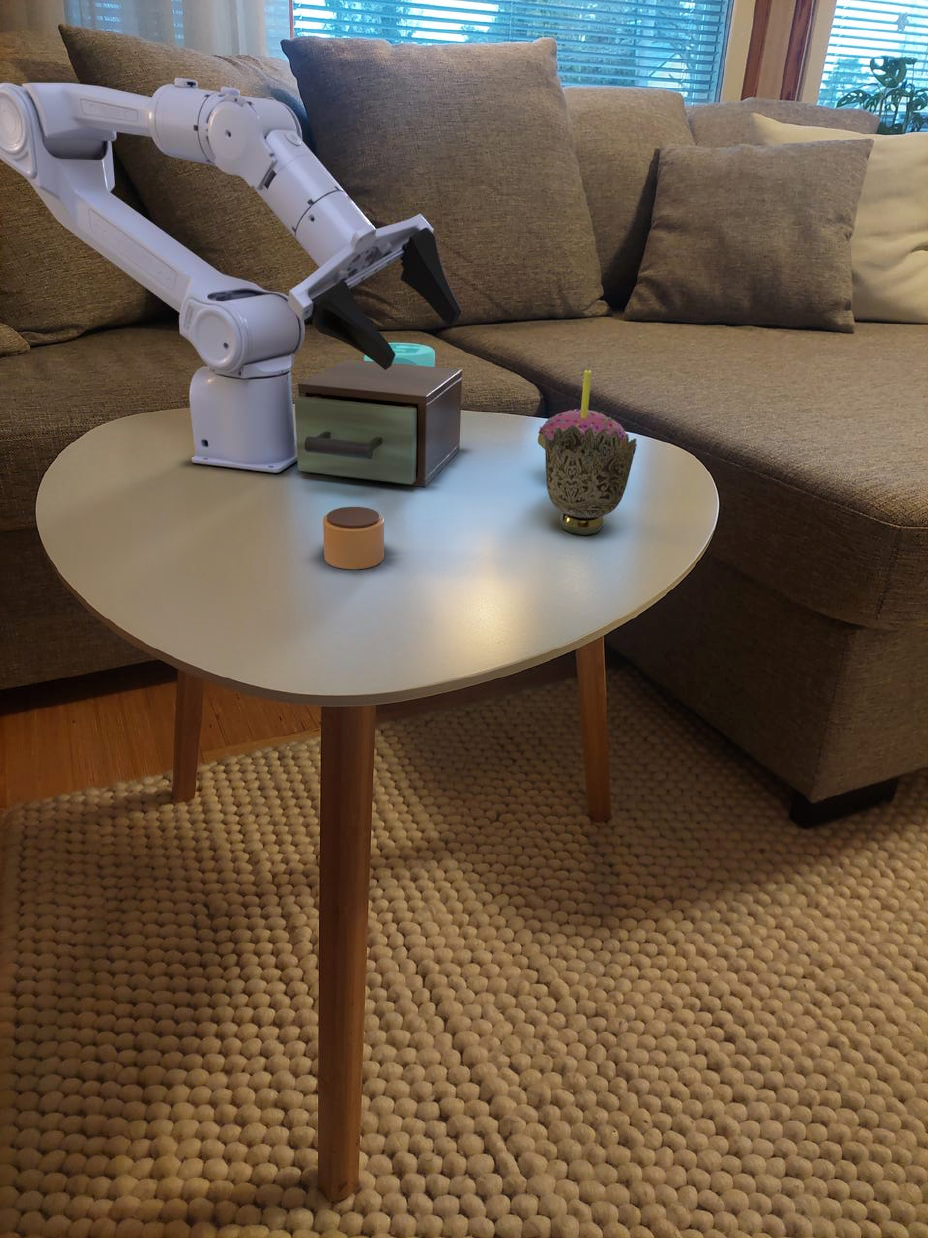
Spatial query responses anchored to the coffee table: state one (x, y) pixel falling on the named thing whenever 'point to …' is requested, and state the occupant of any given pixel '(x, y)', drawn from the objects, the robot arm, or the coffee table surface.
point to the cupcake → (581, 418)
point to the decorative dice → (411, 354)
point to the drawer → (357, 437)
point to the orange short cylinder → (353, 538)
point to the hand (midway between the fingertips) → (424, 340)
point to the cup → (587, 475)
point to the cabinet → (404, 385)
